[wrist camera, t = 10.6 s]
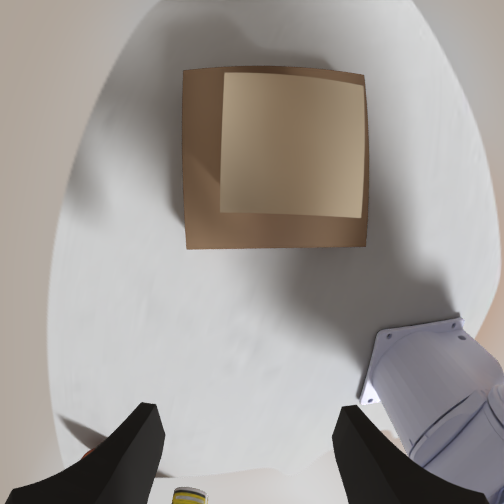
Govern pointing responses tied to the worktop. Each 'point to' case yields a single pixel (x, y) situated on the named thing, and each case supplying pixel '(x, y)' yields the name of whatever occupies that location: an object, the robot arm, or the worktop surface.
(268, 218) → the walnut block
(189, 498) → the supplement bottle
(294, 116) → the birch block
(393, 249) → the worktop surface
